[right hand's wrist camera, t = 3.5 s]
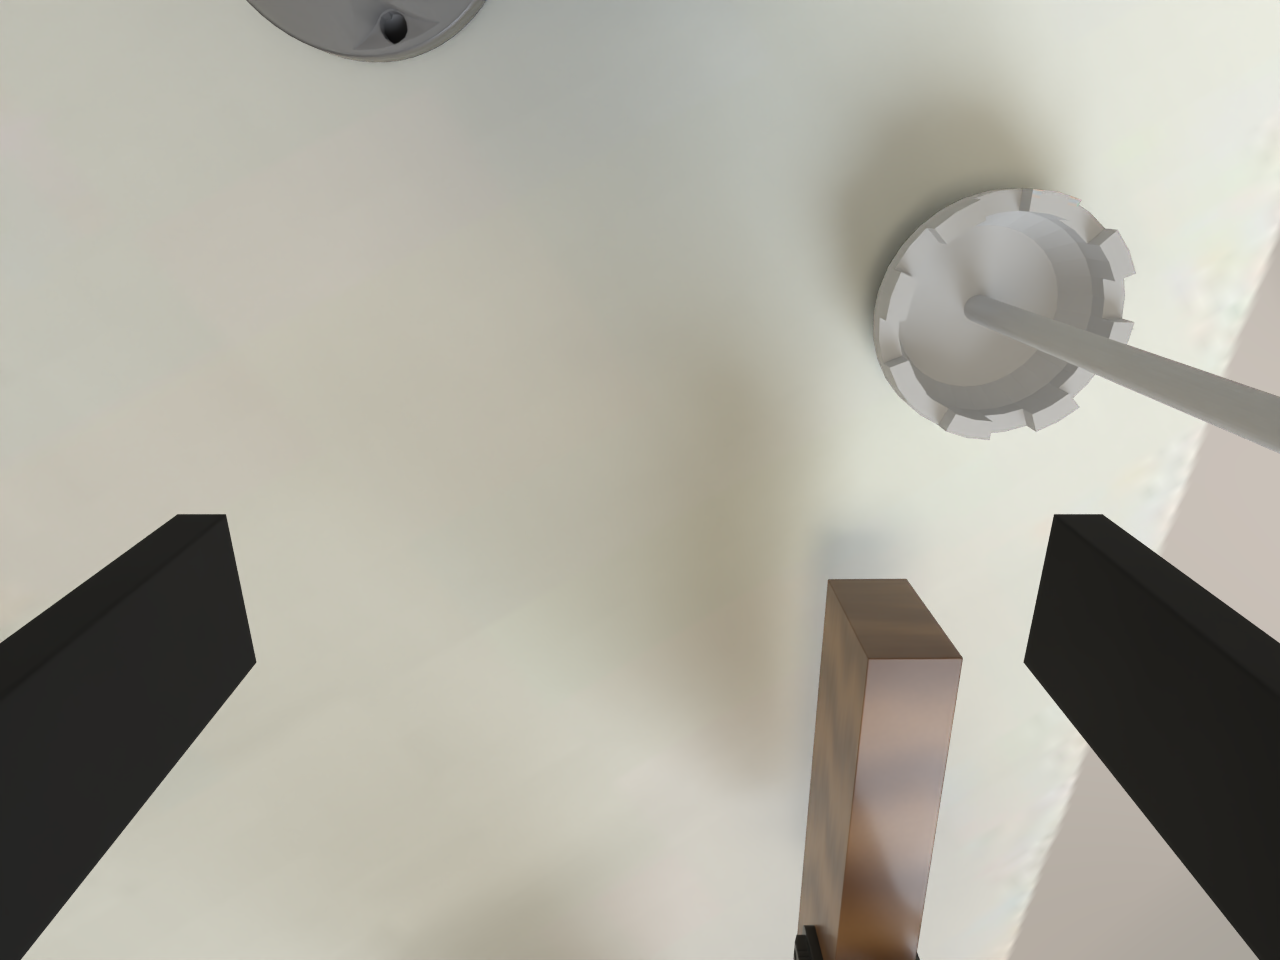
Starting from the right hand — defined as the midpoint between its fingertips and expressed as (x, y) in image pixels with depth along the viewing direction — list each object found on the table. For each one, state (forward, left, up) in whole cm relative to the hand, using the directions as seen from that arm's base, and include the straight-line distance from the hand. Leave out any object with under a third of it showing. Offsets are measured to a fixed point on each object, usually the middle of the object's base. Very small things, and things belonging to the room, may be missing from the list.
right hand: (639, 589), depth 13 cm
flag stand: (-9, +17, -36) cm, 41 cm away
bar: (+18, +25, -28) cm, 42 cm away
